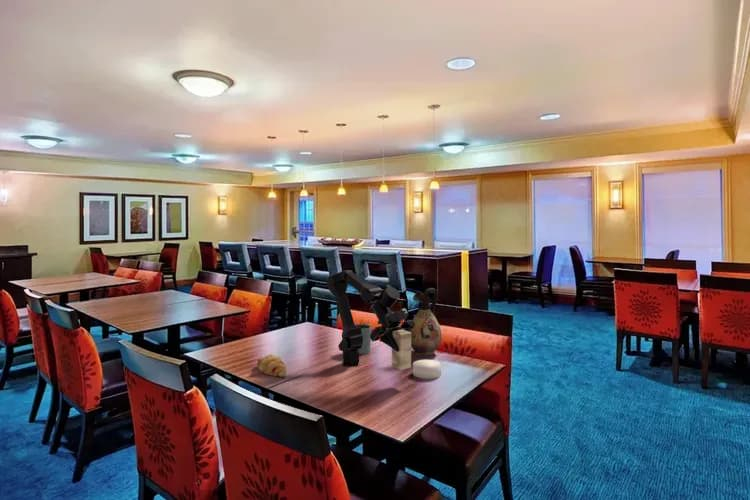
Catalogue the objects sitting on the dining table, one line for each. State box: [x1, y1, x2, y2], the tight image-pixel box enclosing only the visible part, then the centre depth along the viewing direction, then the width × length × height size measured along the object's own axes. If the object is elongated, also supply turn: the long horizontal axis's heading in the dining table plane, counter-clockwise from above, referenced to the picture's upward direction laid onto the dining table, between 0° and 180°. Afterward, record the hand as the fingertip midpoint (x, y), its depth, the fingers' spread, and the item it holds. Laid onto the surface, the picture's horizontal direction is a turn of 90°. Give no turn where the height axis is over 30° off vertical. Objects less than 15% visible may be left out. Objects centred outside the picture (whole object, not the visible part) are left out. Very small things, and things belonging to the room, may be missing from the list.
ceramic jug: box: [410, 287, 443, 356], centre depth 197 cm, size 17×15×30 cm
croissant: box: [256, 354, 288, 378], centre depth 175 cm, size 21×10×8 cm, turn 43°
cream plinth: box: [412, 359, 442, 380], centre depth 170 cm, size 11×11×4 cm
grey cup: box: [355, 323, 372, 355], centre depth 200 cm, size 10×10×12 cm
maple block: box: [391, 330, 412, 371], centre depth 158 cm, size 5×5×13 cm
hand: (404, 349), depth 157 cm, fingers closed on maple block, 5 cm apart
